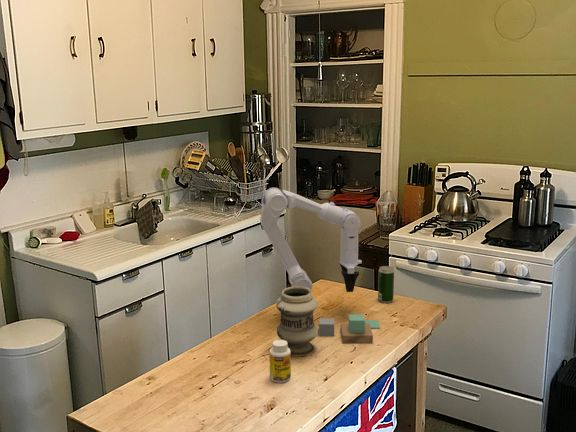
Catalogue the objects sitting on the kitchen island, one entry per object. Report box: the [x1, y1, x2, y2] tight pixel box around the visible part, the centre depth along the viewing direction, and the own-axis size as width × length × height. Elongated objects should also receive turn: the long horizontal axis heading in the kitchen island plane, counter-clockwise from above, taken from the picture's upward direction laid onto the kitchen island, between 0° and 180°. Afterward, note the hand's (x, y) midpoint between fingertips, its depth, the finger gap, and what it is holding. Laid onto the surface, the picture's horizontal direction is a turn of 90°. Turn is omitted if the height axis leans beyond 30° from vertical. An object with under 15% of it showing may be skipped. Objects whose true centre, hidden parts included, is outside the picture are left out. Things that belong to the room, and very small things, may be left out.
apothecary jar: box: [275, 286, 319, 357], centre depth 180 cm, size 12×12×18 cm
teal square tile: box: [365, 319, 381, 330], centre depth 198 cm, size 6×6×1 cm
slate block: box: [318, 317, 335, 337], centre depth 192 cm, size 4×4×4 cm
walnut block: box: [340, 323, 374, 344], centre depth 189 cm, size 9×9×3 cm
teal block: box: [348, 314, 366, 333], centre depth 188 cm, size 4×4×4 cm
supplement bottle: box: [269, 339, 292, 383], centre depth 163 cm, size 6×6×10 cm
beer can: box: [377, 265, 395, 304], centre depth 217 cm, size 5×5×12 cm
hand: (348, 287), depth 204 cm, fingers open, 7 cm apart
